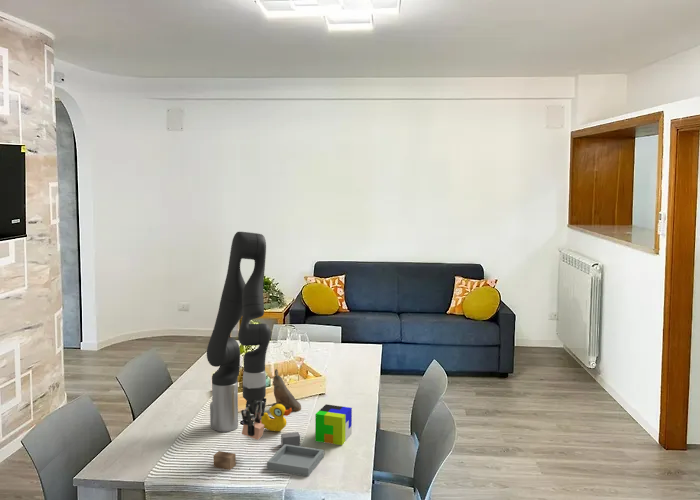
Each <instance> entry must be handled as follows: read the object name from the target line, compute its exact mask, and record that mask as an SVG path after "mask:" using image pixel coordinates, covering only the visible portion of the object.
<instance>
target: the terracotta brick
mask: <svg viewBox="0 0 700 500" xmlns="http://www.w3.org/2000/svg"><path fill="white" fill-rule="evenodd" d="M242 424H243V425H242V429H241V430H242V431H241V434H242V435H243V436H246V437H249V438H252V439H254V440H256V441H259V440H260V438H262V437H263V435H264V430H265V428H264V425H263V424H262V423H261V422H260V423H258V422H255V424H254V425H255V432H254V436H249V435H248V425H244V423H242Z"/></svg>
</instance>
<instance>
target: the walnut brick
mask: <svg viewBox="0 0 700 500" xmlns="http://www.w3.org/2000/svg"><path fill="white" fill-rule="evenodd" d="M212 457H213V468H217V469H223V470H228V471H231V470H232V469H233V468H234V467H236V465H237V462H236V461H237V459H236V453H233V452H227V451H222V450H218V451H217V452H216V453H215V454H213V456H212Z"/></svg>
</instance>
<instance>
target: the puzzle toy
mask: <svg viewBox="0 0 700 500" xmlns="http://www.w3.org/2000/svg"><path fill="white" fill-rule="evenodd" d="M352 409H353V407H348V406H347V407H346V406H341V405H333V404H325V405H324V406H322V407H321V408H320V409H319V410H318V411H317V412H316V413H315V417H314V418H315V422H314V423H315V433H314V434H315V442H319V443H324V442H325V443H324V444H332V445H338V446H343V445H344V444H345V443H346V442H347V440H348V439H349V438H350V437H351V436H352V433H353V432H352V430H353V429H352V428H353V427H352V426H353V425H352V423H353V422H352V415H353V413H352V412H353V410H352ZM344 442H345V443H344Z"/></svg>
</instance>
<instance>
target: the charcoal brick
mask: <svg viewBox="0 0 700 500" xmlns="http://www.w3.org/2000/svg"><path fill="white" fill-rule="evenodd" d="M284 444H288V445H294V446H301V435H300V432H299V431H295V432H285V433H280V445H281V447H282V446H283V445H284Z"/></svg>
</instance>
